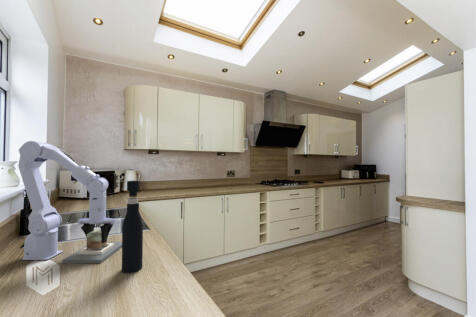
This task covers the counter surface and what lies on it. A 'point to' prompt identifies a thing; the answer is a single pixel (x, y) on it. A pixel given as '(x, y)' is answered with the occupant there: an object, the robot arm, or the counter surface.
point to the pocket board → (93, 254)
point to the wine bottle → (132, 232)
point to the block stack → (95, 240)
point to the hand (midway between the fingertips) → (97, 242)
